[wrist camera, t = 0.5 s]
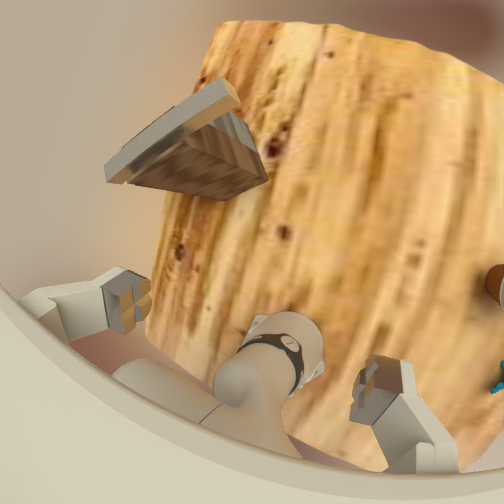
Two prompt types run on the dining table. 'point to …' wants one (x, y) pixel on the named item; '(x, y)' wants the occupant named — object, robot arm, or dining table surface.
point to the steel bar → (172, 129)
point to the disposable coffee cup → (496, 284)
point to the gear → (500, 385)
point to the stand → (207, 162)
